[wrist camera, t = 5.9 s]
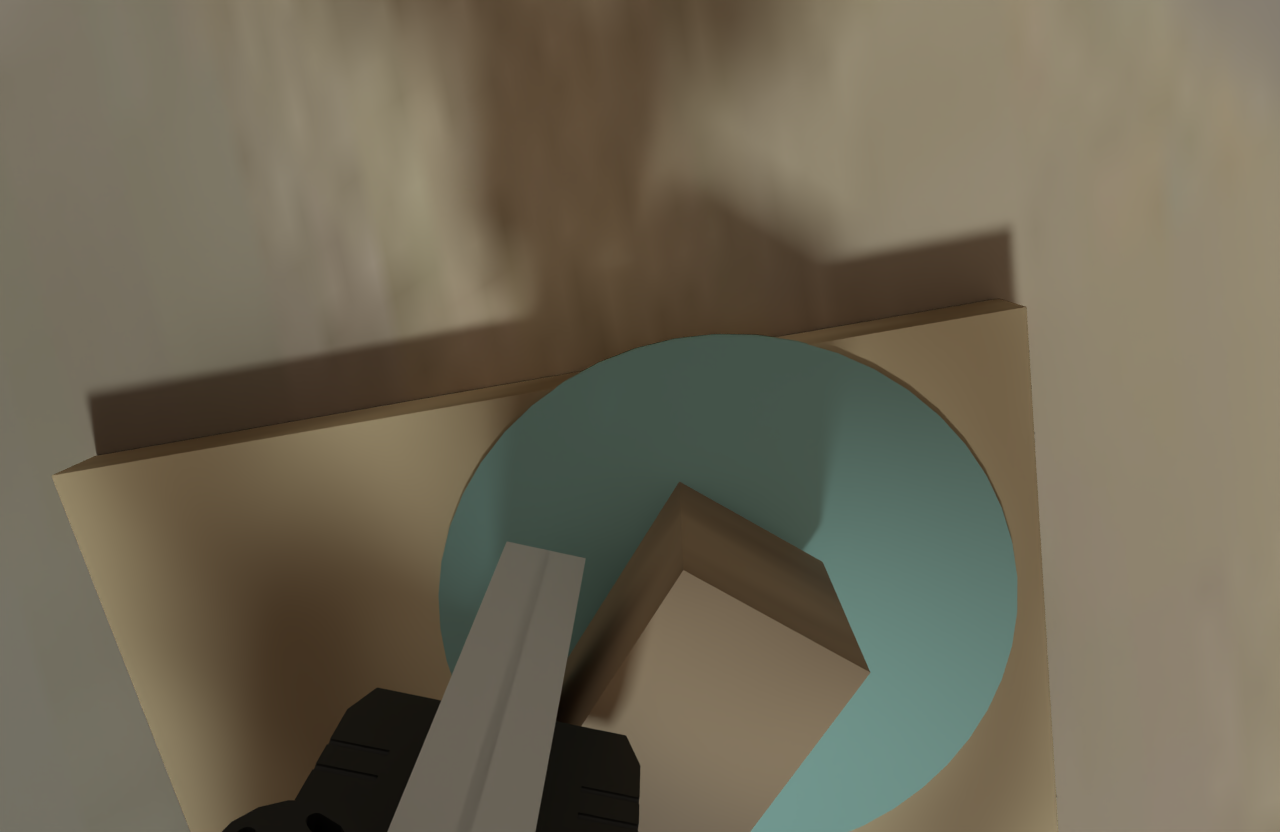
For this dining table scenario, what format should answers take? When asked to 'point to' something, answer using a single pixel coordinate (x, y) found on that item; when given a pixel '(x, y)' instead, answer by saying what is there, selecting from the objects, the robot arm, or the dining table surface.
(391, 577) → the oak board
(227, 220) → the dining table surface
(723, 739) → the leg bar
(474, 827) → the robot arm
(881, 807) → the felt pad
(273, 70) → the dining table surface
